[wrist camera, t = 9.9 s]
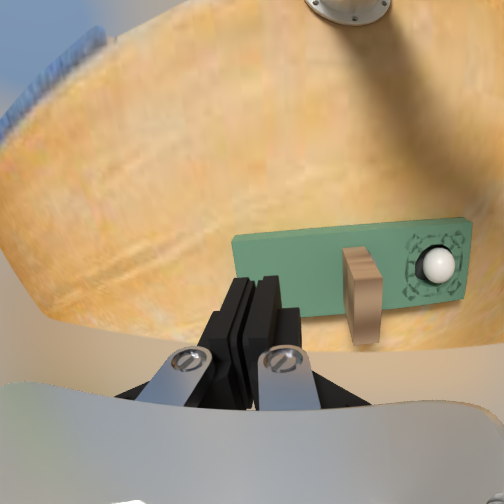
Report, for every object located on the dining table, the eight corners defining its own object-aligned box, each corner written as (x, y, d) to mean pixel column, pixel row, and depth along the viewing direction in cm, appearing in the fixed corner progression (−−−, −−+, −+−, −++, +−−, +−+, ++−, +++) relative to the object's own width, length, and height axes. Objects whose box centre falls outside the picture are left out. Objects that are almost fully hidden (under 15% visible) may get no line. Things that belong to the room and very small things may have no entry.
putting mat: (235, 235, 45) (231, 241, 42) (463, 217, 39) (472, 222, 36) (247, 310, 48) (244, 320, 46) (456, 290, 43) (463, 298, 40)
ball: (419, 243, 41) (429, 256, 37) (449, 242, 40) (461, 254, 35) (418, 275, 43) (426, 290, 38) (447, 273, 41) (457, 287, 37)
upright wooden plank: (341, 248, 40) (354, 281, 30) (368, 245, 39) (387, 277, 30) (343, 302, 42) (353, 345, 33) (367, 300, 42) (383, 342, 32)
